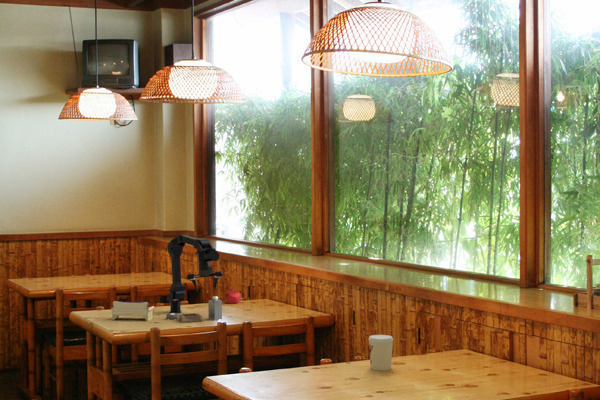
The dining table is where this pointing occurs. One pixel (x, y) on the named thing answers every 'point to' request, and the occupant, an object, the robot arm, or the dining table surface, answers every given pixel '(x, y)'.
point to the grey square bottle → (215, 308)
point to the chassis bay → (190, 317)
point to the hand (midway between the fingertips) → (206, 291)
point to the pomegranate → (232, 297)
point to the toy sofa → (132, 310)
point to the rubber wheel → (171, 316)
